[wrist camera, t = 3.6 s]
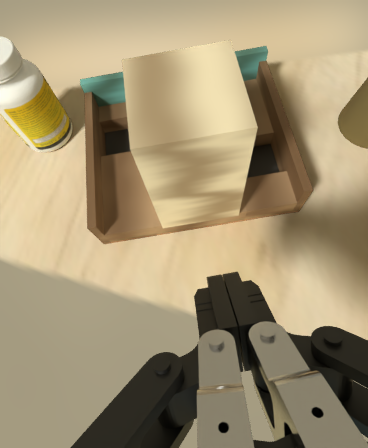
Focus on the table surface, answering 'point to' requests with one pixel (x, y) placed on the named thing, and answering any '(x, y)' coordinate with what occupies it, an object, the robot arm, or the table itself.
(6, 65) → the supplement bottle
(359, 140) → the olive pawn
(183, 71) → the maple block
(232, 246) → the table surface
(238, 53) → the trap lane
